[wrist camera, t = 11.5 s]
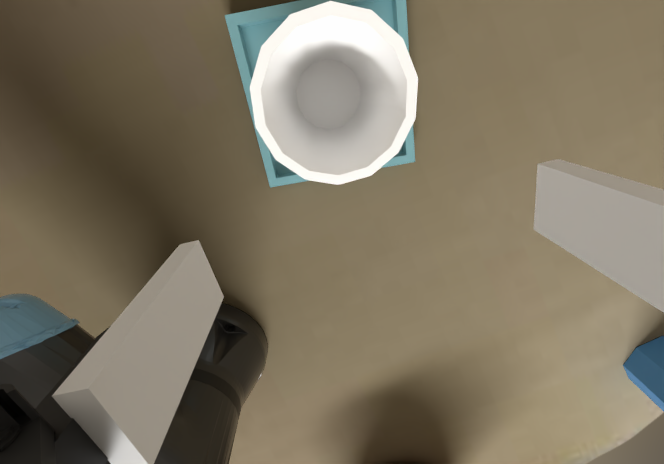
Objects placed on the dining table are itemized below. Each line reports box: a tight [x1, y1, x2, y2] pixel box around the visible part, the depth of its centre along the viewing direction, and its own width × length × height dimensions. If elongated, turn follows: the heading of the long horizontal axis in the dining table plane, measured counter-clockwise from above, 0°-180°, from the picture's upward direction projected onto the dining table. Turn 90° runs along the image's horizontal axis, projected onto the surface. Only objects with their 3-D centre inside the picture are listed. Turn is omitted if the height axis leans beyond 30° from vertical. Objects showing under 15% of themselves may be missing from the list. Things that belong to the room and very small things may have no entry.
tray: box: [225, 0, 415, 187], centre depth 29 cm, size 15×15×2 cm
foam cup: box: [250, 1, 418, 185], centre depth 24 cm, size 10×9×13 cm
